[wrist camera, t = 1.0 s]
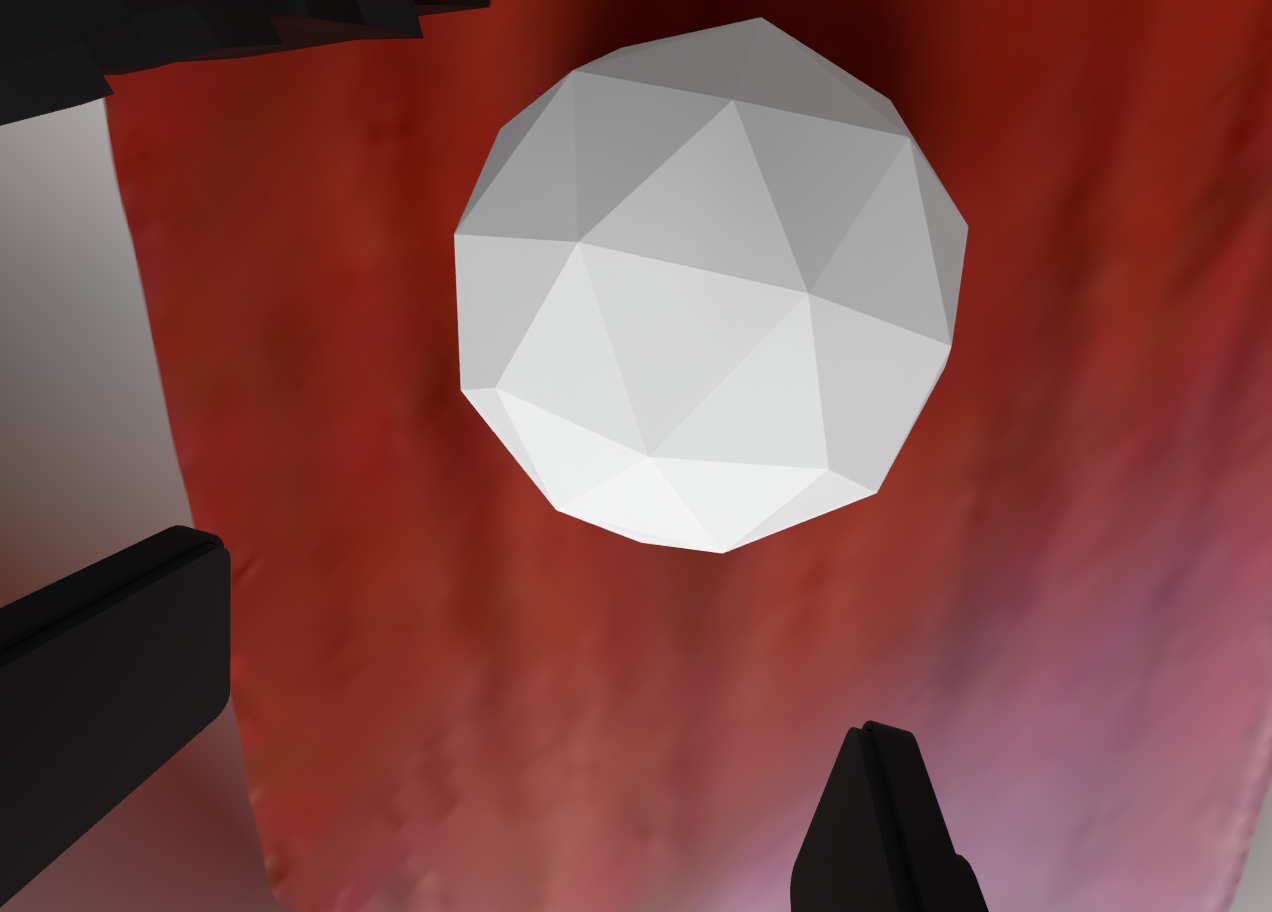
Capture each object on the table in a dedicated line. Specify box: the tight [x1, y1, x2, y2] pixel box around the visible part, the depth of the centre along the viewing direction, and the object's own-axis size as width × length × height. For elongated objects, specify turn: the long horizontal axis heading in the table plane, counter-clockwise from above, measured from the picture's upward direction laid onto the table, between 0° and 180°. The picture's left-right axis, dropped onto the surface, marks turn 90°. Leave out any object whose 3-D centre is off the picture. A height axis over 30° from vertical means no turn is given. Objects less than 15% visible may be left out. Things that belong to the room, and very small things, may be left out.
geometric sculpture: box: [454, 17, 968, 553], centre depth 26 cm, size 19×20×20 cm
